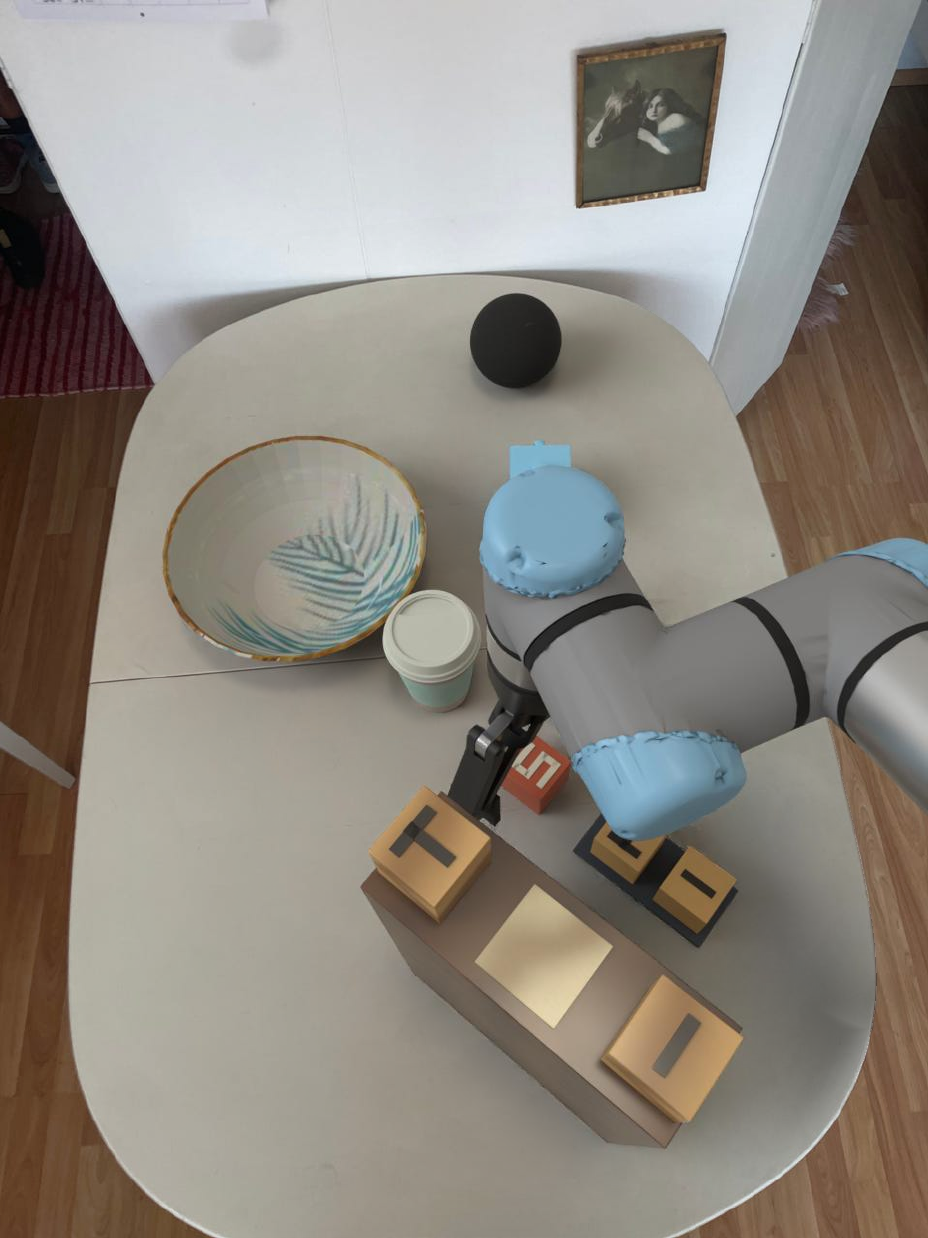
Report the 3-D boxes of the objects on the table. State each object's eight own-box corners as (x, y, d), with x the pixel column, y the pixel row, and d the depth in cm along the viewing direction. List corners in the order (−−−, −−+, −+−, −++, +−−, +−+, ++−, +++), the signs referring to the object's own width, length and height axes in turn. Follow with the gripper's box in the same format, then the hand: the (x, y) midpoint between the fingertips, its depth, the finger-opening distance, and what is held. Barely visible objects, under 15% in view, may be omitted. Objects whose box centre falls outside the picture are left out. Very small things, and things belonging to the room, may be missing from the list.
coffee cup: (498, 663, 95) (496, 604, 84) (460, 740, 92) (454, 688, 81) (418, 632, 97) (407, 570, 86) (379, 705, 94) (362, 650, 83)
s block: (569, 777, 89) (572, 760, 85) (539, 815, 88) (540, 800, 84) (529, 748, 91) (530, 730, 87) (499, 785, 89) (499, 768, 85)
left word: (737, 891, 84) (750, 877, 80) (698, 948, 82) (709, 937, 78) (612, 799, 88) (618, 781, 84) (572, 851, 86) (576, 835, 82)
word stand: (659, 1066, 78) (764, 1018, 46) (607, 1143, 76) (679, 1151, 43) (464, 905, 85) (435, 763, 52) (411, 971, 82) (347, 866, 50)
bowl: (401, 457, 107) (393, 409, 100) (460, 658, 95) (456, 620, 88) (172, 513, 105) (147, 468, 98) (204, 725, 93) (179, 692, 86)
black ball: (453, 370, 112) (448, 305, 104) (519, 326, 115) (519, 258, 106) (511, 421, 109) (511, 358, 100) (578, 375, 111) (583, 309, 102)
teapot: (569, 567, 100) (573, 526, 93) (509, 567, 100) (509, 527, 93) (566, 470, 105) (570, 425, 99) (509, 470, 106) (509, 426, 99)
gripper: (608, 487, 69) (586, 623, 88) (373, 750, 61) (405, 838, 80) (698, 543, 67) (656, 670, 86) (467, 825, 59) (477, 897, 78)
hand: (535, 751), depth 83 cm, fingers open, 13 cm apart
